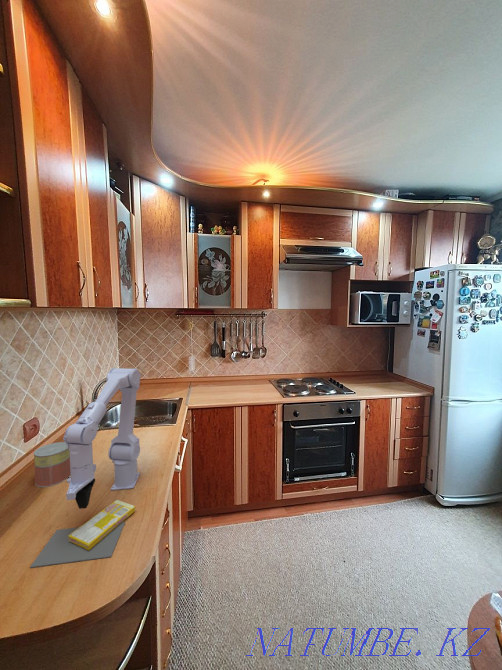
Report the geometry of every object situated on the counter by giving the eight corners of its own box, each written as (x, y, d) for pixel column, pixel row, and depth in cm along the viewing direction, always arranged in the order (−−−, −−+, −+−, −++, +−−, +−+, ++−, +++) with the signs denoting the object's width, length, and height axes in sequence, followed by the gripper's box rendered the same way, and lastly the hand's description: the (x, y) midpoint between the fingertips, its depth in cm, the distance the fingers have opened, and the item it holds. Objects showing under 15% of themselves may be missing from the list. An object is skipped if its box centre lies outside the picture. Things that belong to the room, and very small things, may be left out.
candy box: (68, 542, 74) (88, 551, 71) (67, 535, 74) (88, 543, 71) (117, 505, 89) (136, 511, 86) (116, 498, 89) (135, 504, 86)
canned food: (61, 467, 112) (60, 439, 111) (76, 474, 107) (75, 445, 106) (29, 481, 102) (27, 451, 101) (44, 490, 97) (42, 458, 96)
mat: (56, 530, 78) (56, 529, 78) (125, 522, 81) (125, 521, 81) (29, 568, 66) (29, 567, 66) (111, 557, 69) (111, 556, 69)
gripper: (78, 452, 86) (80, 492, 87) (53, 479, 71) (55, 527, 72) (102, 450, 87) (103, 490, 88) (81, 476, 73) (83, 523, 73)
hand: (83, 506), depth 80 cm, fingers closed
